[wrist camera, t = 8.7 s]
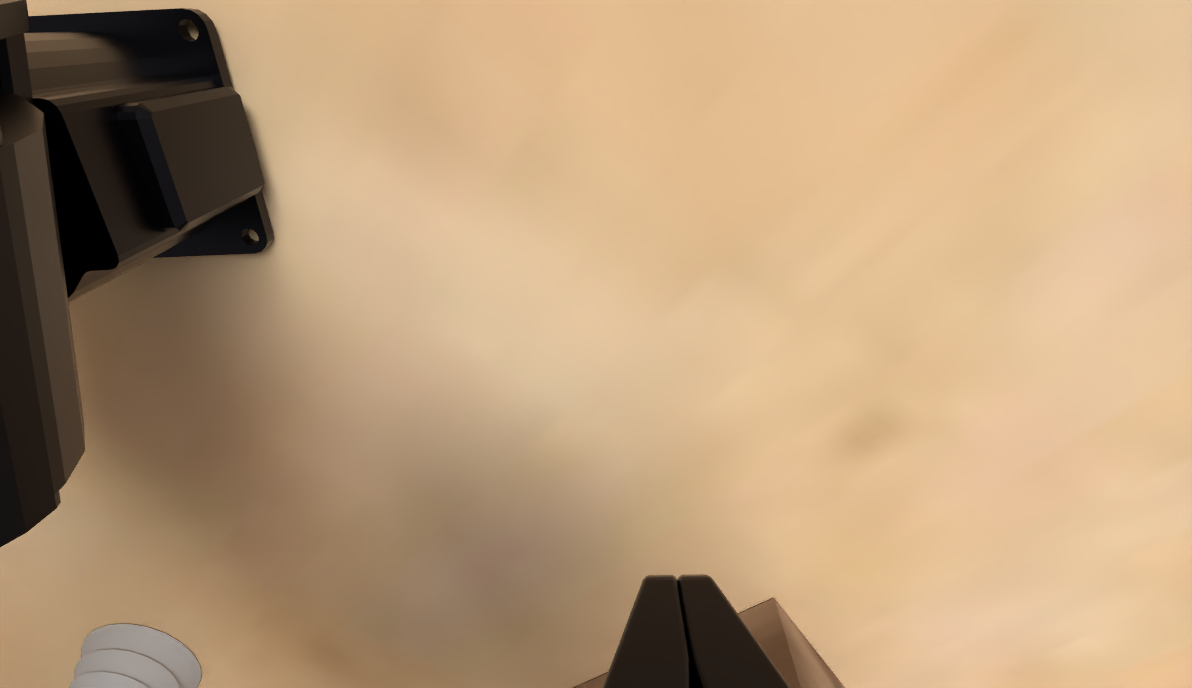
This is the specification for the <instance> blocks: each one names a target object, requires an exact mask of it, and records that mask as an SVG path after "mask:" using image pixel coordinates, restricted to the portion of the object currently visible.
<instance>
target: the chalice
mask: <svg viewBox="0 0 1192 688" xmlns="http://www.w3.org/2000/svg"><path fill="white" fill-rule="evenodd" d="M200 680H201V668H200V665H199V663H198V661H197V659H196V658H195V656H194V654H193V653H192V652H191V651H190V650H189V649H188V648H186V647H185V646H184V645H183V644H182V643H181V642H179V641H178V640H176V639H174V638H172V637H171V636H169V635H167V634H165V633H163V632H160V631H157V630H155V629H152V628H149V627H146V626H139V625H132V624H113V625H106V626H104V627H101V628H98V629H95V630H93V631H92V632H91V633H90V634H89V635H88V636H87V637H86V638H85V639H84V642H83V646H82V649H81V659H80V660H79V661H78V662H77V665H76V668H75V673H74V680H73V681H72V682H71V684H70V687H69V688H197V687H198V684H199V682H200Z"/></svg>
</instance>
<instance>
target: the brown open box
mask: <svg viewBox="0 0 1192 688" xmlns="http://www.w3.org/2000/svg"><path fill="white" fill-rule="evenodd" d="M738 615H739V616H740V618H741V619H742V621H743V622H744V623H745V625H746V626H747V628H748V629H749V630H750V632H751V633H752V635H753V636H754V637H755V639H756V640H757V642H758V643H759V644H760V646H761V647H762V649H763V650H764V651H765V653H766V654H767V656H768V657H769V658H770V660H771V661H772V663H773V664H774V665H775V667H776V668H777V670H778V671H779V672H780V674H781V675H782V676H783V678H784V679H785V681H786V682H787V683H788V685H789V686H790V688H845V687H844V686H843V685H842V683H841V682H840V681H839V680H838V678H837V677H836V676H835V674H834V673H833V672H832V671H831V669H830V668H829V667H828V666H827V664H826V663H825V662H824V661H823V659H822V658H821V657H820V655H819V654H818V653H817V652H816V650H815V649H814V648H813V647H812V645H811V644H810V643H809V642H808V640H807V639H806V638H805V636H804V635H803V634H802V633H801V631H800V630H799V629H798V628H797V626H796V625H795V624H794V623H793V621H792V620H791V619H790V617H789V616H788V615H787V614H786V612H785V611H784V610H783V609H782V607H781V606H780V605H779V604H778V602H777V601H776V600H775V598H773V599H770V600H768V601H766V602H764V603H762V604H759V605H757V606H755V607H753V608H750V609H748V610H746V611H744V612H742V613H739V614H738ZM607 675H608V673H606V674H604V675H602V676H599V677H597V678H595V679H593V680H590V681H588V682H586V683H584V684H582V685H579V686H577V687H575V688H603V685H604V683H605V680H606V677H607Z"/></svg>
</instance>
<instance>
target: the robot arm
mask: <svg viewBox="0 0 1192 688" xmlns="http://www.w3.org/2000/svg"><path fill="white" fill-rule="evenodd" d="M190 20H191V21H192V22H193V23H195V24H196V26H197V28H198V30H199V36H198V38H197V39H196V40H195V39H194V38H192V37H191V36H190V34H189V33H188V31H187V24H188V22H189V21H190ZM263 185H264V180H263V176H262V173H261V169H260V165H259V162H258V158H257V155H256V151H255V147H254V144H253V140H252V136H251V133H250V129H249V126H248V122H247V118H246V115H245V111H244V107H243V104H242V100H241V97H240V95H239V94H238V93H237V92H236V91H235V90H234V89H233V88H232V85H231V81H230V78H229V74H228V70H227V67H226V63H225V60H224V56H223V53H222V49H221V45H220V42H219V38H218V35H217V31H216V28H215V26H214V24H213V22H212V20H211V19H210V18H209V17H208V16H207V15H206V14H205V13H203V12H201V11H200V10H196V9H186V8H180V9H161V10H142V11H123V12H104V13H85V14H66V15H46V16H28V10H27V3H26V0H0V547H1V546H3V545H5V544H7V543H9V542H10V541H12V540H14V539H16V538H17V537H19V536H21V535H23V534H25V533H26V532H28V531H29V530H30V529H31V528H33V527H34V526H35V525H36V524H38V523H39V522H40V521H41V520H43V519H44V518H45V517H46V516H47V515H49V514H50V513H51V512H52V511H54V510H55V509H56V508H57V507H58V505H59V504H60V502H61V501H60V494H59V490H60V489H61V488H62V486H63V485H64V484H65V483H66V482H67V480H68V478H69V477H70V475H71V473H72V472H73V470H74V468H75V467H76V465H77V463H78V462H79V460H80V458H81V456H82V455H83V453H84V451H85V437H84V419H83V411H82V404H81V396H80V388H79V381H78V373H77V365H76V358H75V350H74V342H73V335H72V327H71V319H70V311H69V304H68V303H69V302H71V301H73V300H75V299H77V298H78V297H80V296H82V295H84V294H86V293H88V292H90V291H91V290H93V289H95V288H97V287H99V286H101V285H103V284H104V283H106V282H108V281H110V280H112V279H114V278H116V277H117V276H119V275H121V274H123V273H125V272H127V271H129V270H130V269H132V268H134V267H136V266H138V265H140V264H142V263H143V262H145V261H147V260H149V259H151V258H156V257H180V256H203V255H227V254H250V253H258V252H261V251H263V250H264V249H266V248H267V247H268V246H269V245H271V243H272V241H273V231H272V228H271V224H270V220H269V217H268V213H267V210H266V206H265V203H264V199H263V195H262V192H261V188H262V187H263ZM248 229H252V230H254V231H255V232H256V233H257V235H258V236H259V241H254V240H253V239H252V238H250V236H249V234H248ZM603 688H790V686H789V685H788V683H787V682H786V681H785V679H784V678H783V676H782V675H781V674H780V672H779V671H778V670H777V668H776V667H775V665H774V664H773V663H772V661H771V660H770V658H769V657H768V656H767V654H766V653H765V651H764V650H763V649H762V647H761V646H760V644H759V643H758V642H757V640H756V639H755V637H754V636H753V635H752V633H751V632H750V630H749V629H748V628H747V626H746V625H745V623H744V622H743V621H742V619H741V618H740V616H739V615H738V614H737V612H736V611H735V609H734V608H733V607H732V605H731V604H730V602H729V601H728V600H727V598H726V597H725V595H724V594H723V593H722V591H721V590H720V588H719V587H718V586H717V584H716V583H715V582H714V580H713V579H712V578H711V577H710V576H708V575H681V576H680V577H678V579H676V577H675V576H673V575H649V576H646V577H645V578H644V579H643V581H642V584H641V587H640V589H639V592H638V595H637V597H636V600H635V603H634V605H633V608H632V611H631V613H630V616H629V619H628V621H627V624H626V627H625V629H624V632H623V635H622V637H621V640H620V643H619V645H618V648H617V651H616V653H615V656H614V659H613V661H612V664H611V667H610V669H609V672H608V675H607V677H606V680H605V683H604V685H603Z"/></svg>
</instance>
